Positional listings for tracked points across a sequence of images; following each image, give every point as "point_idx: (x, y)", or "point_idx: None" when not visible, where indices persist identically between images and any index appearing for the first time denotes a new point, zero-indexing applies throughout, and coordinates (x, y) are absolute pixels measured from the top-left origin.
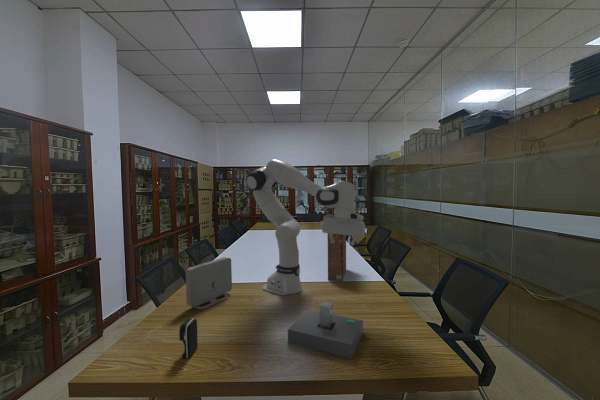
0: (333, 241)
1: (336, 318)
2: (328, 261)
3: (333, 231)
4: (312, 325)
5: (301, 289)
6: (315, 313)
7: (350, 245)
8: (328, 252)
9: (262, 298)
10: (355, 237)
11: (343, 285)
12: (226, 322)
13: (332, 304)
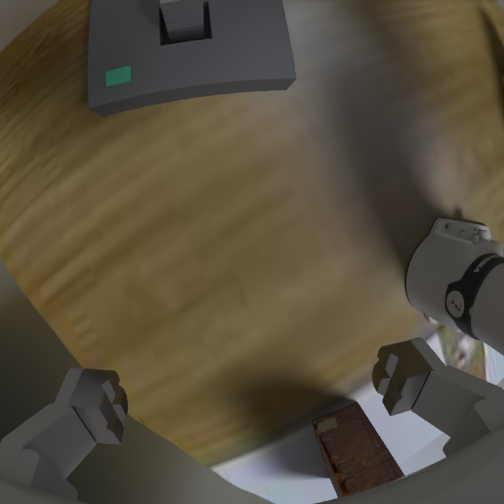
0: (394, 368)
1: (170, 68)
2: (381, 444)
3: (497, 470)
4: (223, 2)
5: (407, 288)
6: (254, 64)
7: (102, 370)
8: (396, 468)
9: (464, 172)
10: (2, 459)
11: (298, 399)
12: (438, 27)
13: (160, 2)
